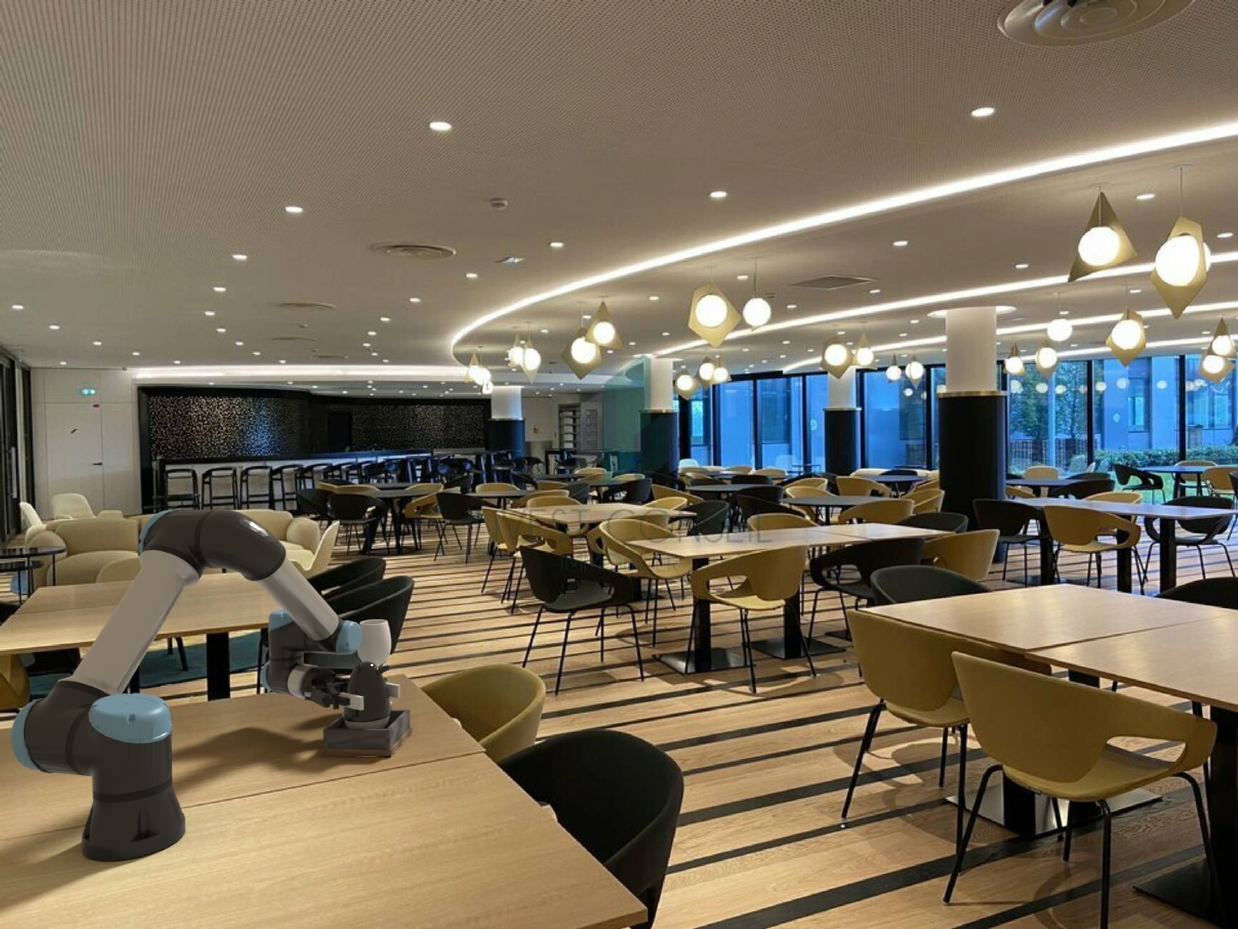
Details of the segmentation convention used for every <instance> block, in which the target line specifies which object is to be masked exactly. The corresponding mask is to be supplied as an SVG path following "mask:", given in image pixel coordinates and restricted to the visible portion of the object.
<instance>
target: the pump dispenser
mask: <svg viewBox="0 0 1238 929" xmlns="http://www.w3.org/2000/svg"><path fill="white" fill-rule="evenodd" d="M391 669H392V668H391V665H390V664H386V665H384V666H379V667H377V665H376V664H375V663H373V662H370V661H364V662H363V661H361V662H360V663H357V665H356V666H355V667H354V668H353V670H352V672H351V674H350V676H349V677H348V678H349V681H348V684H347V687H346V691H345V693H349V694H353V695H358V696H363V702H364V710H357V709H352V708H348V707H344V706H342V714H343V719H344V720H345V723H346V726H347V727H348V729H383V728H384V727H385V726H386V725H387V723H388V721H389V717H390V715H391V710H392V707H391V701H392V700H391V697H390V696H389V691H388V688H387V685H386V682H385V679H384V678H385V677H384V675H383V674H384V673H387V671H390V670H391Z"/></svg>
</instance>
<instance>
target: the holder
mask: <svg viewBox="0 0 1238 929" xmlns="http://www.w3.org/2000/svg"><path fill="white" fill-rule="evenodd" d="M410 715H411V713H410V709H391V715H390V717H389V721H388V723H387V725H386V726H385V727H384V728H383V729H348V727H347V726H346V723H345V720H344V719H343V713H342V714H340V716H338V717H337V718H336V719H335V720H333V721H332V722H331V723H330V724H328V725H327V726H326V727H324V728H323V730H322V734H323V736H322V737H323V739H322V741H323V746H322V748H321V749H320V757H321V756H392V755H393V753H395V751H397V752H398V750H399V749H400V748H401V747H402V746H403V745H402V743H404V741H407V740H408V739H409V738H410V737H411V736H412V735H411V733H413V734H414V731H413V730H414V728H413V726H411V716H410ZM410 735H411V736H410ZM409 736H410V737H409ZM408 737H409V738H408ZM407 738H408V739H407ZM406 739H407V740H406ZM404 744H405V743H404ZM401 745H402V746H401ZM400 746H401V747H400ZM399 747H400V748H399ZM398 748H399V749H398ZM397 749H398V750H397ZM395 754H396V753H395ZM393 756H394V755H393ZM393 756H392V757H393Z"/></svg>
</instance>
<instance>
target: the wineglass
mask: <svg viewBox="0 0 1238 929" xmlns="http://www.w3.org/2000/svg"><path fill="white" fill-rule="evenodd" d="M358 625H359V626H360V628H361V634H362V637H361V642H360V644H359V647H358V649H357V650H356V652H357V655H358V657H359V659H360V660H361V662H364V661H370V662H373V663H375V664H376V665H377V667H378V668H380V667H381V665H383V664H384V663H385V662H386V660H388V659H389V656H390V653H391V650H392V637H391V636H392V635H391V630H390V626H389V622H388V620H387V619H376V618H375V619H374V618H373V619H367V620H363V621H360V622H359V623H358ZM392 702H393V701H392ZM392 702H391V703H392Z"/></svg>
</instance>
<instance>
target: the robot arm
mask: <svg viewBox="0 0 1238 929" xmlns="http://www.w3.org/2000/svg"><path fill="white" fill-rule="evenodd" d="M138 539H139V540H140V543H138V552H139V554H140V555H139V556H138V560H139V561H138V562H139V564H140V567H141V568H140V570H139V572H138V573H137V575H136V576H135V578H134V579H133V581H132V583H131V584H130V585H129V586H128V588H127V590H126V592H125V593H124V595H123V596H122V598H121V599H120V601H119V603H118V604H117V606H116V607H115V609H114V611H113V612H112V613H111V615H110V616H109V618H108V619H107V621H106V622H105V624H104V626H103V627H102V629H101V630H100V632H99V633H98V635H97V636H96V638H95V640H94V641H93V643H92V644H91V646H90V647H89V649H88V651H87V652H86V654H85V655H84V657H83V658H82V660H81V661H80V663H79V664H78V666H77V667H76V669H75V671H74V672H73V674H72V675H71V676H68V677H65V678H61V679H58V680H57V682H56V683H55V684H54V686H53V687H52V689H51V690H50V692H49V694H47V696H46V697H44V698H43V697H42V698H37V699H35V700H34V701H30V702H28V703H27V704H26V705H24V706H23V707H22V708H21V709H20V711H19V712H18V713H17V715H16V716H15V718H14V721H13V723H12V726H11V729H10V730H11V732H10V742H11V743H12V745H11V751H12V753H13V755H14V758H15V759H16V760H17V761H18V763H20V765H22V766H23V767H25V768H26V769H29V770H33V771H39V772H41V773H44V774H64V775H65V774H66V775H73V776H84V777H91V784H92V785H91V786H92V789H91V790H92V803H91V807H90V810H89V813H88V815H87V816H88V817H87V820H86V823H85V825H84V829H83V832H82V835H81V853H82V855H83V856H84V857H86V858H88V859H91V860H95V861H103V862H104V861H106V862H108V861H109V862H111V861H123V860H128V859H135V858H139V857H143V856H148V855H149V854H153V853H156V852H158V851H161V850H164V849H166V848H169V847H170V846H172V845H174V844H175V843H177V842H178V841H179V840H181V839H182V837H183V836H184V835H185V833H186V830H187V829H186V816H185V813H184V812H183V810H182V807H181V804H180V801H179V799H178V797H177V795H176V793H175V790H174V786H173V749H172V747H173V746H172V745H173V743H172V742H173V740H172V737H173V736H172V735H173V733H172V732H173V731H172V729H173V725H172V724H173V723H172V720H171V714H170V707H169V704H167V702H166V701H165V700H164V699H163V698H161V697H159V696H156V695H153V694H147V693H139V692H133V693H130V694H129V693H123V692H124V691H125V689H126V687H127V686H128V685H129V682H130V681H131V679H132V678H133V676H134V674H135V673H136V671H137V669H138V667H139V666H140V664H141V662H142V660H143V659H144V658H145V655H146V654H147V652H148V650H149V649H150V647H151V645H152V644H153V642H154V641H155V639H156V637H157V636H158V635H159V633H160V630H161V628H162V627H163V625H164V623H165V621H166V620H167V618H168V617H169V615H170V614H171V612H172V610H173V608H174V607H175V605H176V604H177V602H178V600H179V598H180V597H181V595H182V593H183V592H184V590H185V589H186V588H190V587H193V586H196V585H197V584H198V582H199V581H200V579H201V577H202V576H203V574H204V572H205V571H206V570H207V569H225V570H230V571H234V572H235V573H239V574H241V576H243V577H244V579H246V580H247V581H249V582H255V583H256V584H258V585H259V587H260V588H261V589H262V590H264V591H265V593H266V594H267V596H269V597H270V598H271V600H273V601H274V602H275V603H276V604H277V605H278V606H279V607H280V609H278V610H274V611H272V612H271V613H270V614H269V616H268V629H267V633H268V653H269V659H268V661H267V662H266V663H264V665H263V666H262V670H261V671H260V674H259V675H260V676H259V678H260V679H259V680H260V682H261V685H262V687H264V688H265V689H267V690H268V691H271V692H273V693H276V694H280V695H287V696H291V697H295V698H301V699H303V700H304V701H310V702H313V703H314V704H317V705H318V706H321V707H323V708H324V709H327V708H330V707H331V706H332V709H333V710H335V711H336V710H339V709H340V707H343V706H344V707H348V708H352V709H357V710H364V702H363V696H358V695H353V694H349V693H345V691H346V687H347V684H348V681H349V678H350V677H343V676H341V675H340V676H337V674H336V672H335V671H333V670H332V669H331V668H328V667H323V666H318V665H313V664H307V663H304V656H305V653H307V654H308V653H311V654H312V653H313V654H314V653H315V654H324V655H325V654H326V655H327V654H328V655H329V654H331V655H337V656H340V655H353V654H354V653H356V652H357V649H358V647H359V644H360V642H361V637H362V634H361V628H360V626H359V623H357V622H356V621H351V620H342V619H341V618H340V616H339V615H338V614H337V613H336V612H335V611H334V609H332V607H331V606H330V605H329V604H328V603H327V602H326V600H325V599H324V598H323V597H322V596H321V595H320V594H319V593H318V591H317V590H316V589H315V588H314V587H313V585H312V584H311V583H310V582H309V581H308V580H307V579H306V578H305V577H304V575H303V574H302V573H301V572H300V570H299V569H297V567H296V566H295V565H294V564H293V563H292V561H291V560H290V559H289V557H288V556H287V555H288V554H287V550H286V547H285V546H284V545H283V543H282V542H281V541H280V540H279V539H278V538H277V537H276V536H275V535H274V534H273V533H272V532H270V530H269V529H267V528H266V527H264V526H263V525H262V524H261V523H260V522H258V521H256V520H255V519H253V518H251V517H250V516H248V515H246V514H243V513H241V512H239V511H236V510H232V509H190V508H189V509H187V508H176V509H168V510H163V511H160V512H158V513H155V514H154V515H152V516H151V517H150V518H149V519H148V520H147V521H146V522H145V524H144V525H143V527H142V529H141V532H140V534H139V538H138ZM384 679H385V682H386V685H387V688H388V691H389V696H390V698H395V699H400V698H401V697H402V696H401V694H402V693H401V692H402V691H401V684H396V683H391V682H388V678H387V677H384Z"/></svg>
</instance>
